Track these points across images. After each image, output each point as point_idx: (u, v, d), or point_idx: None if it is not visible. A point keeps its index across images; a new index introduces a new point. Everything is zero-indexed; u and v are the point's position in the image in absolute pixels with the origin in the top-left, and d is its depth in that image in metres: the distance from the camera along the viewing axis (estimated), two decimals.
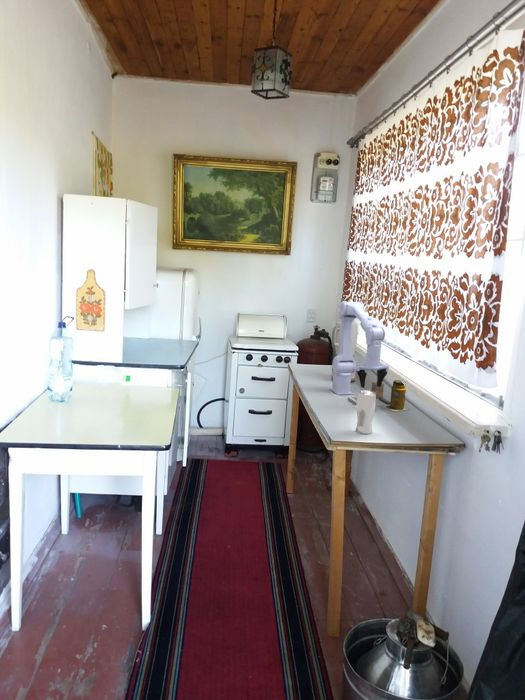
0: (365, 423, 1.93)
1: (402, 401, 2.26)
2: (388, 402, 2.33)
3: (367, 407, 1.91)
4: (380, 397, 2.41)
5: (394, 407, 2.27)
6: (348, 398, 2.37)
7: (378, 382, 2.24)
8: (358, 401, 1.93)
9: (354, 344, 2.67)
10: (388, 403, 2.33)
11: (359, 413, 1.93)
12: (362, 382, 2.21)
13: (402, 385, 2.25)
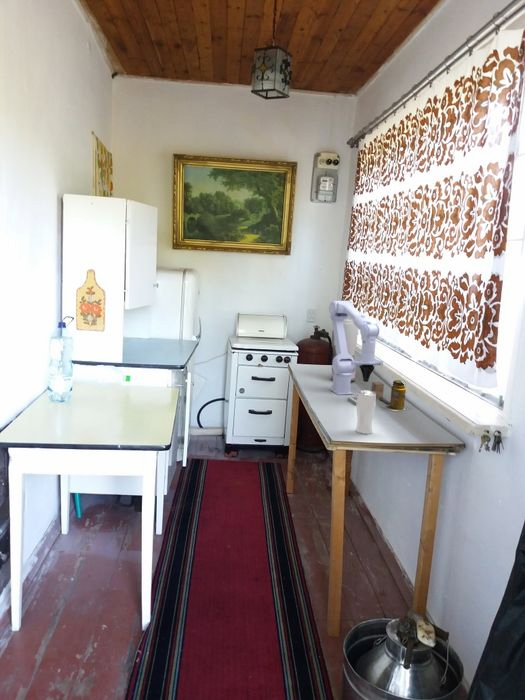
0: (365, 423, 1.93)
1: (402, 401, 2.26)
2: (388, 402, 2.33)
3: (367, 407, 1.91)
4: (380, 397, 2.41)
5: (394, 407, 2.27)
6: (348, 398, 2.37)
7: None
8: (358, 401, 1.93)
9: (354, 344, 2.67)
10: (388, 403, 2.33)
11: (359, 413, 1.93)
12: (365, 376, 2.32)
13: (402, 385, 2.25)
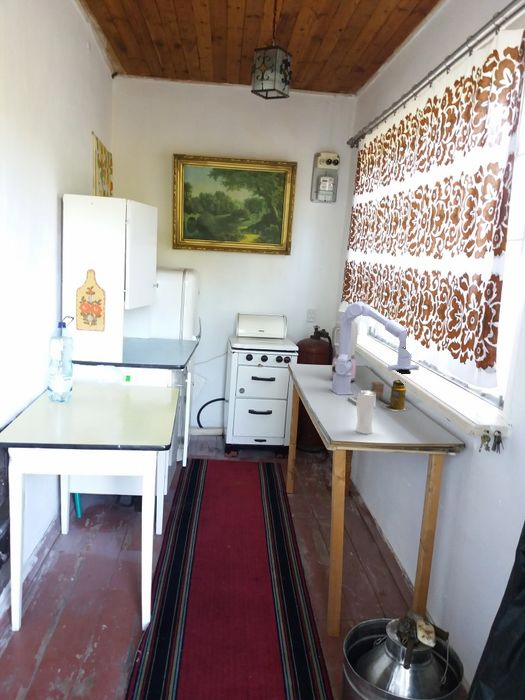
0: (365, 423, 1.93)
1: (402, 401, 2.26)
2: (388, 402, 2.33)
3: (367, 407, 1.91)
4: (380, 397, 2.41)
5: (394, 407, 2.27)
6: (348, 398, 2.37)
7: None
8: (358, 401, 1.93)
9: (354, 344, 2.67)
10: (388, 403, 2.33)
11: (359, 413, 1.93)
12: None
13: (402, 385, 2.25)
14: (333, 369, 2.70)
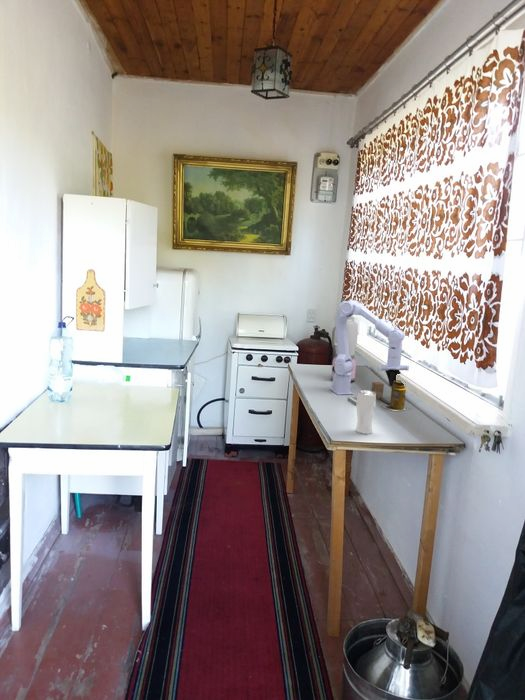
0: (365, 423, 1.93)
1: (402, 401, 2.26)
2: (388, 402, 2.33)
3: (367, 407, 1.91)
4: (380, 397, 2.41)
5: (394, 407, 2.27)
6: (348, 398, 2.37)
7: None
8: (358, 401, 1.93)
9: (354, 344, 2.67)
10: (388, 403, 2.33)
11: (359, 413, 1.93)
12: (391, 381, 2.36)
13: (402, 385, 2.25)
14: (333, 369, 2.70)
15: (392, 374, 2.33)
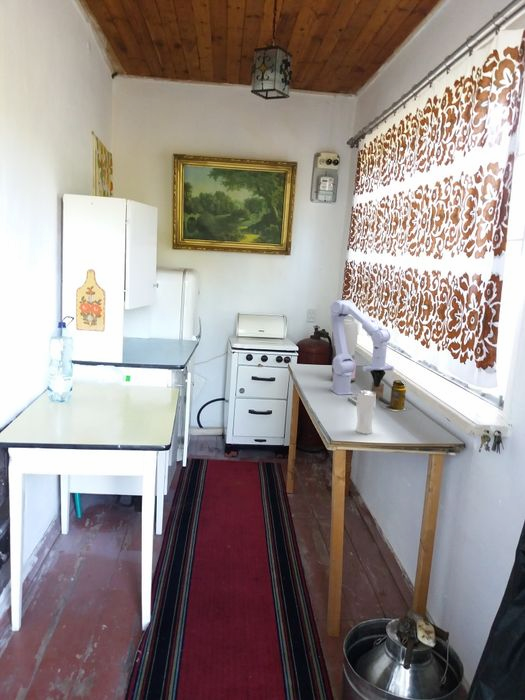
0: (365, 423, 1.93)
1: (402, 401, 2.26)
2: (388, 402, 2.33)
3: (367, 407, 1.91)
4: (380, 397, 2.41)
5: (394, 407, 2.27)
6: (348, 398, 2.37)
7: None
8: (358, 401, 1.93)
9: (354, 344, 2.67)
10: (388, 403, 2.33)
11: (359, 413, 1.93)
12: (376, 382, 2.34)
13: (402, 385, 2.25)
14: None
15: (377, 374, 2.31)
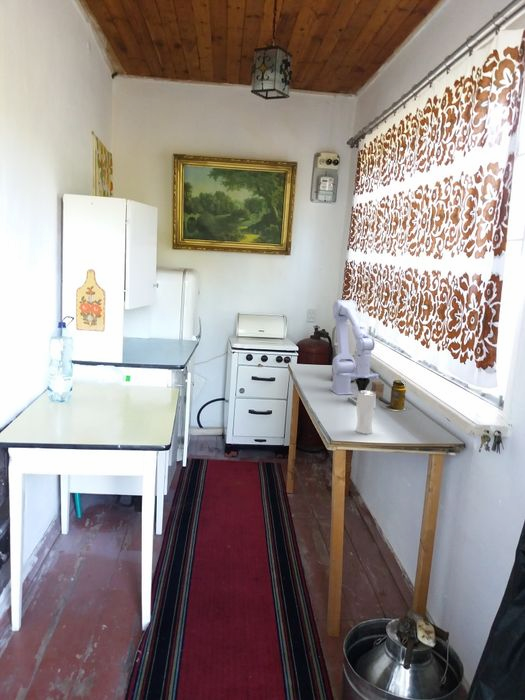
0: (365, 423, 1.93)
1: (402, 401, 2.26)
2: (388, 402, 2.33)
3: (367, 407, 1.91)
4: (380, 397, 2.41)
5: (394, 407, 2.27)
6: (348, 398, 2.37)
7: None
8: (358, 401, 1.93)
9: (354, 344, 2.67)
10: (388, 403, 2.33)
11: (359, 413, 1.93)
12: (360, 390, 2.32)
13: (402, 385, 2.25)
14: None
15: (361, 382, 2.30)
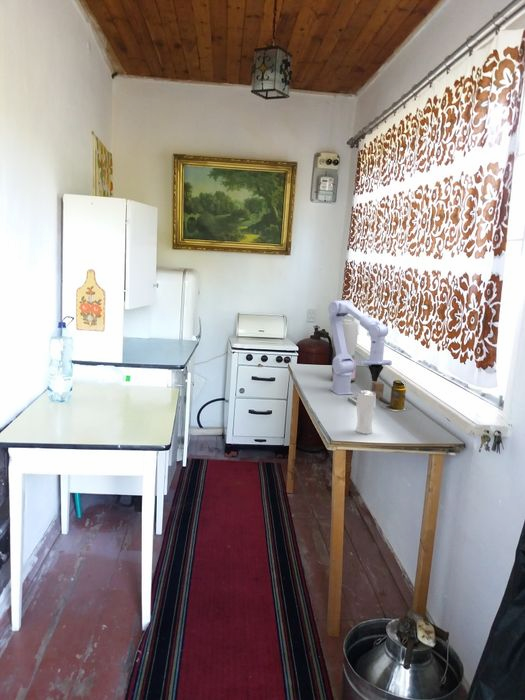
0: (365, 423, 1.93)
1: (402, 401, 2.26)
2: (388, 402, 2.33)
3: (367, 407, 1.91)
4: (380, 397, 2.41)
5: (394, 407, 2.27)
6: (348, 398, 2.37)
7: None
8: (358, 401, 1.93)
9: (354, 344, 2.67)
10: (388, 403, 2.33)
11: (359, 413, 1.93)
12: (373, 376, 2.33)
13: (402, 385, 2.25)
14: None
15: (374, 369, 2.30)
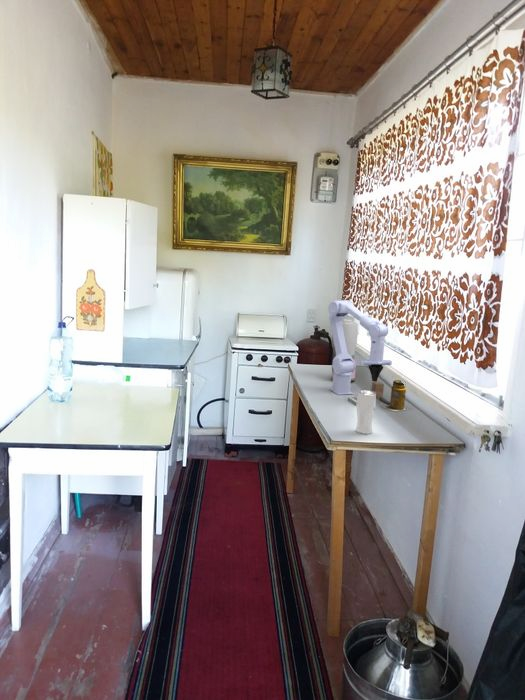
0: (365, 423, 1.93)
1: (402, 401, 2.26)
2: (388, 402, 2.33)
3: (367, 407, 1.91)
4: (380, 397, 2.41)
5: (394, 407, 2.27)
6: (348, 398, 2.37)
7: None
8: (358, 401, 1.93)
9: (354, 344, 2.67)
10: (388, 403, 2.33)
11: (359, 413, 1.93)
12: (373, 376, 2.33)
13: (402, 385, 2.25)
14: None
15: (374, 369, 2.30)
